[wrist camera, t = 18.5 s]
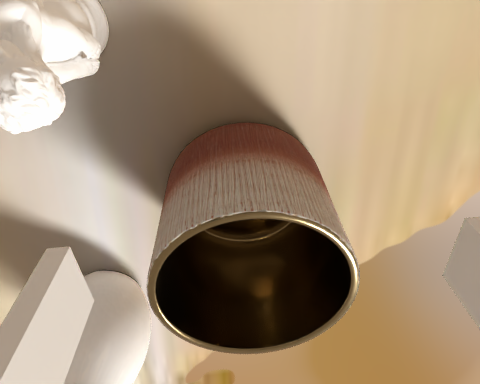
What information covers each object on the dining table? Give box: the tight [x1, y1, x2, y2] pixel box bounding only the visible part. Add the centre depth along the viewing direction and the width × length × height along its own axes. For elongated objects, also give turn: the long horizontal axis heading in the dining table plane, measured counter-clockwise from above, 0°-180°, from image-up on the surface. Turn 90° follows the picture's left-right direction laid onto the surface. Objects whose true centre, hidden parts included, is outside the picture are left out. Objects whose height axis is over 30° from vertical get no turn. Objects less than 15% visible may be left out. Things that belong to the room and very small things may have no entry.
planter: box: [147, 123, 360, 354], centre depth 44 cm, size 22×22×20 cm
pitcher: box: [64, 271, 151, 384], centre depth 54 cm, size 24×17×28 cm
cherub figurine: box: [0, 0, 109, 134], centre depth 30 cm, size 12×12×22 cm
